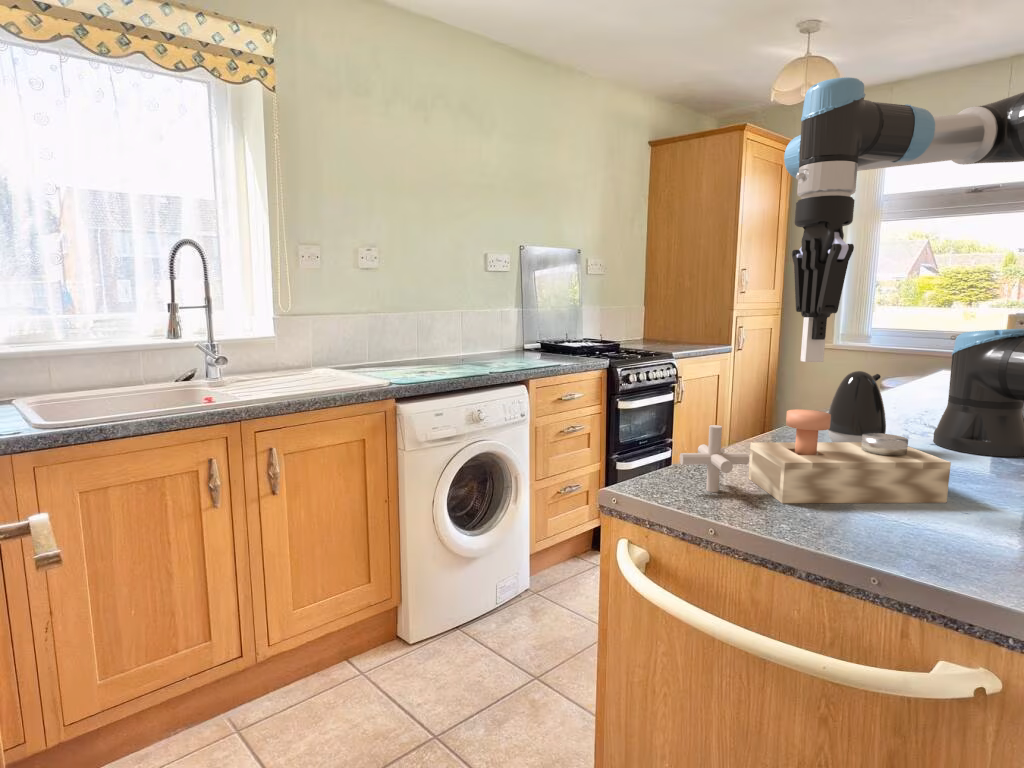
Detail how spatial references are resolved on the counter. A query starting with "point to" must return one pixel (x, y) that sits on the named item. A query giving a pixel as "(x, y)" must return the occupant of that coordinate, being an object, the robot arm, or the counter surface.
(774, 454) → the panel housing
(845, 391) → the pump dispenser
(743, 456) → the pipe connector
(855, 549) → the counter surface
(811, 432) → the terracotta plunger
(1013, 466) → the counter surface
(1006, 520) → the counter surface
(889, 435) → the grey shiny disc
